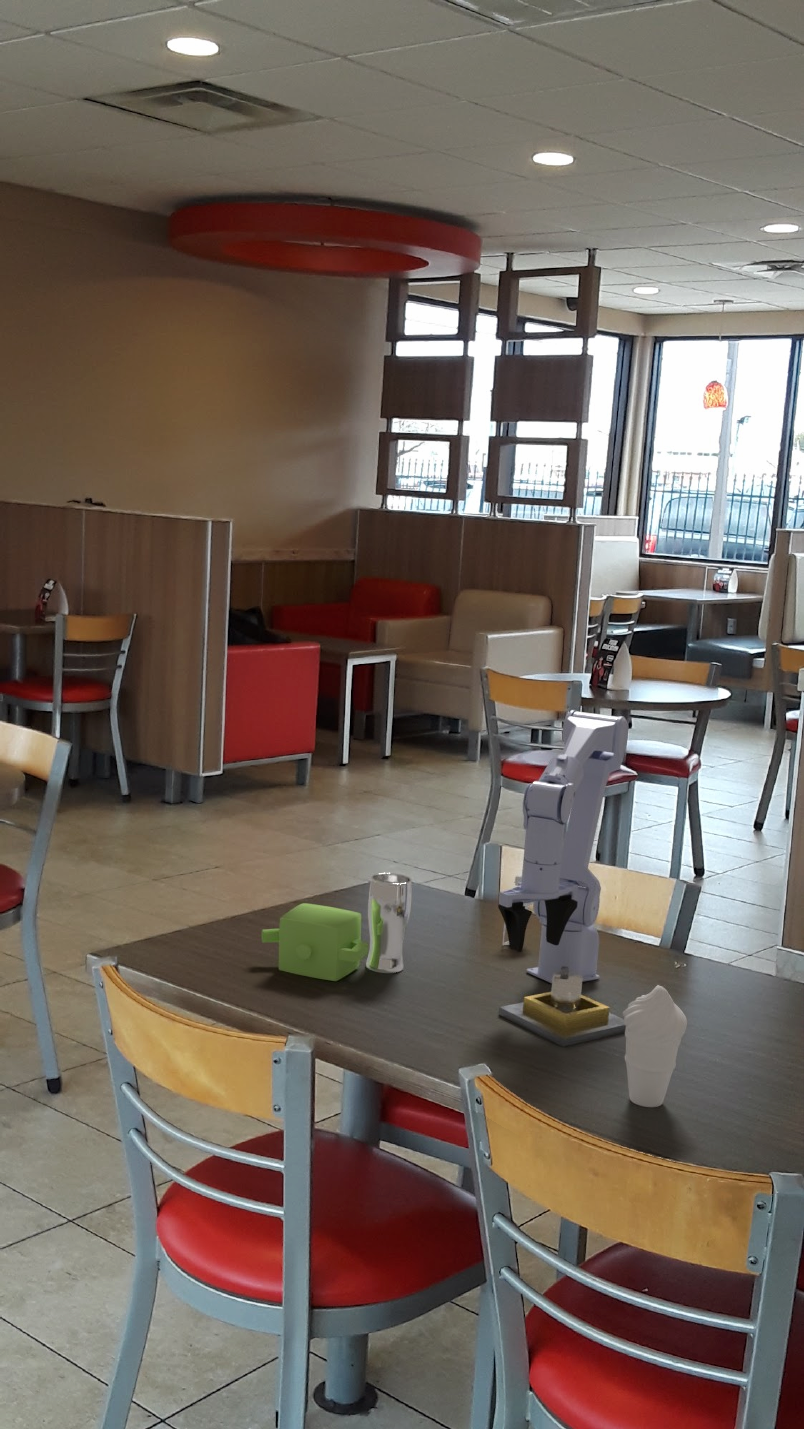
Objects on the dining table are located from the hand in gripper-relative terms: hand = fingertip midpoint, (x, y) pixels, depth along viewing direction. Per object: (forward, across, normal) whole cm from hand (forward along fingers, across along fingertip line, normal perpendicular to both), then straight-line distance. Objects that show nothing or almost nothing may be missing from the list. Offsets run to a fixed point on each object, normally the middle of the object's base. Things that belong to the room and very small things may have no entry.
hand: (534, 946), depth 218 cm
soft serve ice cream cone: (+10, +10, +34) cm, 37 cm away
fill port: (+9, 0, +8) cm, 12 cm away
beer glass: (+10, +10, -24) cm, 28 cm away
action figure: (+10, -19, -25) cm, 33 cm away
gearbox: (+10, +22, -28) cm, 37 cm away
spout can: (+8, 0, +8) cm, 11 cm away
